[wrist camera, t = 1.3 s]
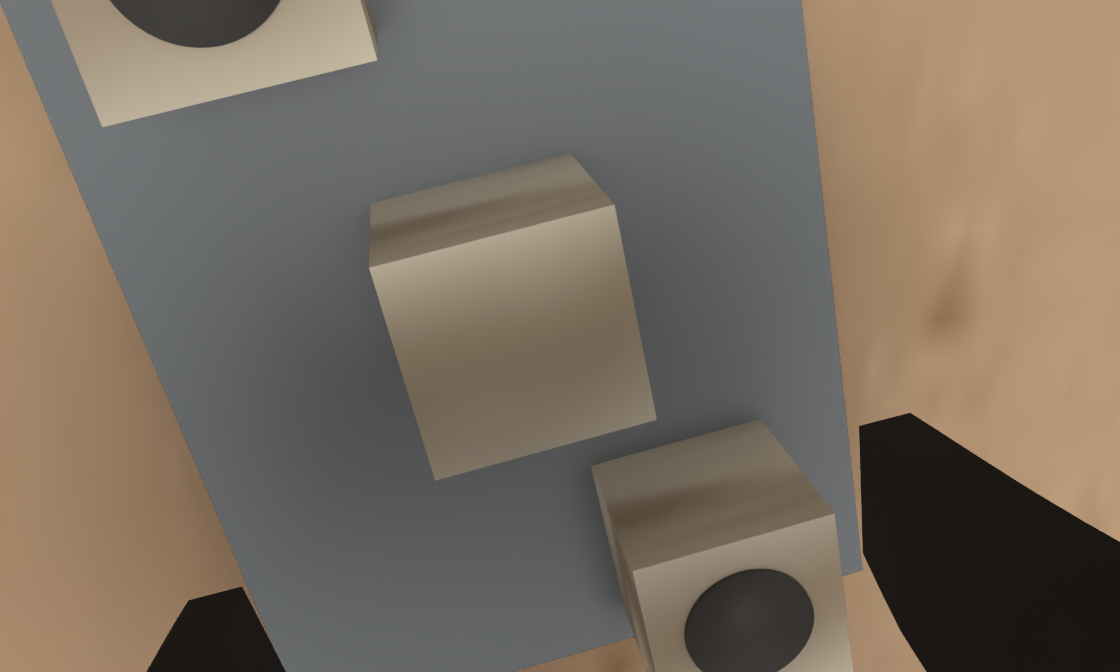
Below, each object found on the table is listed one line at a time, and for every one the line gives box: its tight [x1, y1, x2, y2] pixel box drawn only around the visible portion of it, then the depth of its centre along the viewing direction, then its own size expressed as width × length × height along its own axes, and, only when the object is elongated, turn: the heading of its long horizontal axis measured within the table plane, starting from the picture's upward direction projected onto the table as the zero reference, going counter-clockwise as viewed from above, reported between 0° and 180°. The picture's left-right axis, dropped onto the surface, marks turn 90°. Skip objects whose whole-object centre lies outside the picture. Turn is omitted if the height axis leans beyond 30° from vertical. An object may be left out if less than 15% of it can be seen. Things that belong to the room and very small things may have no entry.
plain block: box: [369, 153, 657, 481], centre depth 18 cm, size 4×4×4 cm
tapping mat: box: [0, 0, 862, 672], centre depth 20 cm, size 20×14×1 cm
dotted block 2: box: [591, 419, 853, 672], centre depth 21 cm, size 4×4×4 cm
